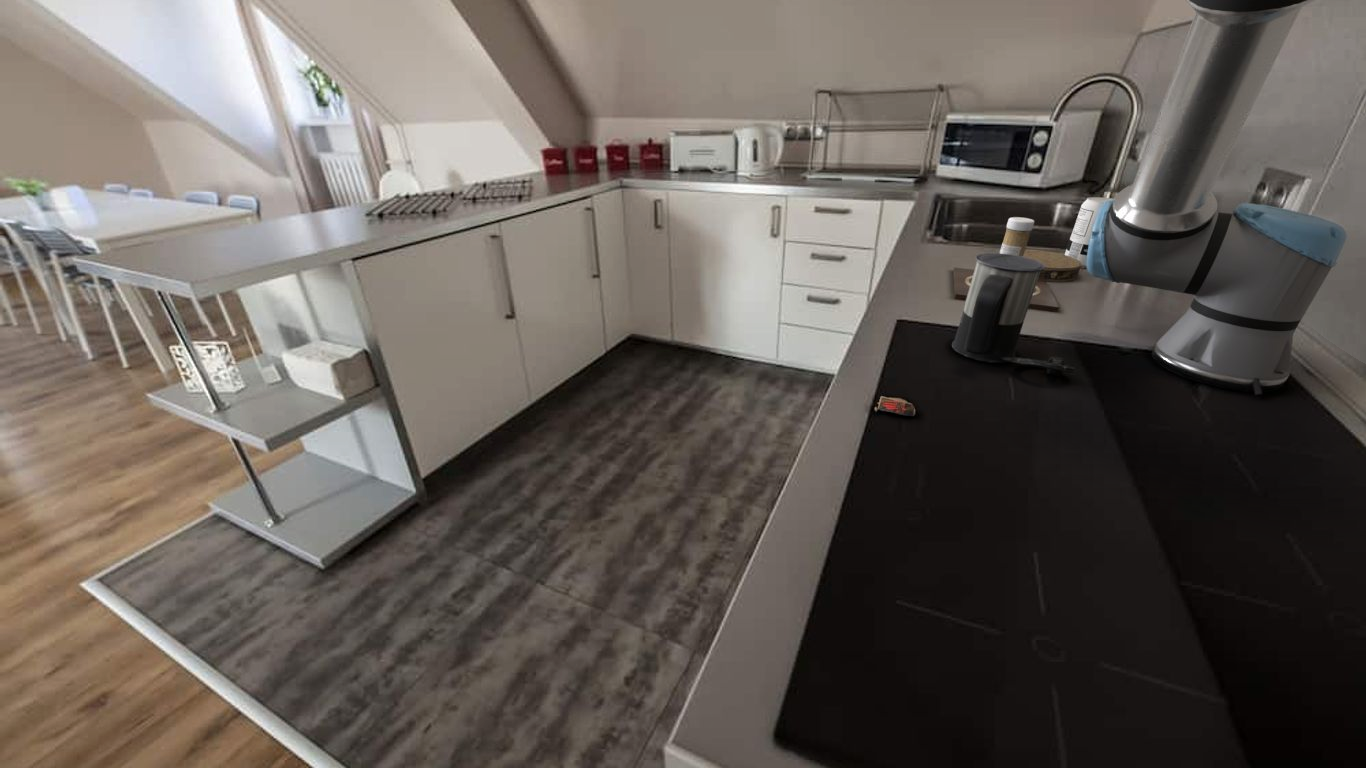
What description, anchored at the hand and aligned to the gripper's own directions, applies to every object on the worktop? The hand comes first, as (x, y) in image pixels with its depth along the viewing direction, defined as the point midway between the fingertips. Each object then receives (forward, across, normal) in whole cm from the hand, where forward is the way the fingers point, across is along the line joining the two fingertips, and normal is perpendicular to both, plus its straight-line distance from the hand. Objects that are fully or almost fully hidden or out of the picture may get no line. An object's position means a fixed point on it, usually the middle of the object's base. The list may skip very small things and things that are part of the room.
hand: (1194, 127), depth 96 cm
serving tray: (+32, -2, +22) cm, 39 cm away
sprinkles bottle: (+31, -2, +22) cm, 38 cm away
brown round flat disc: (+32, +17, +13) cm, 38 cm away
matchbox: (+32, -62, +39) cm, 80 cm away
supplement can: (+32, +28, +2) cm, 42 cm away
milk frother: (+32, -40, +24) cm, 57 cm away
